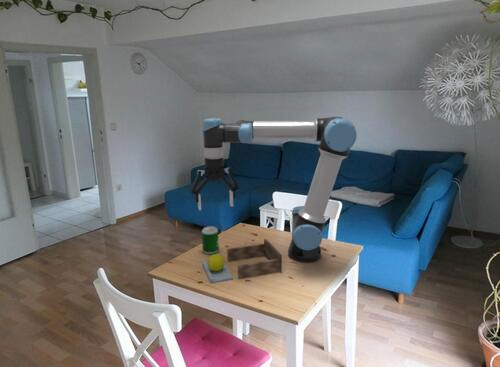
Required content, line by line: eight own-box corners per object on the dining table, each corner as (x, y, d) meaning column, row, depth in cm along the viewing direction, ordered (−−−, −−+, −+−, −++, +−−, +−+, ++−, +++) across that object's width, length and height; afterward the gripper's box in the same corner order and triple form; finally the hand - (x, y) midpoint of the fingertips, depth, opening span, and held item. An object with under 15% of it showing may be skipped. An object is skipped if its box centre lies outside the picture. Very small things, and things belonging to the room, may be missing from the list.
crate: (266, 255, 171) (266, 238, 169) (281, 272, 154) (281, 255, 152) (227, 261, 165) (226, 244, 163) (238, 280, 148) (238, 261, 146)
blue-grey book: (222, 256, 163) (202, 261, 161) (232, 274, 147) (210, 279, 145) (222, 261, 164) (202, 265, 161) (233, 279, 148) (211, 284, 145)
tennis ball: (210, 275, 150) (208, 260, 148) (207, 267, 157) (205, 252, 155) (226, 272, 152) (225, 256, 150) (223, 264, 159) (221, 249, 157)
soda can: (216, 256, 170) (215, 231, 167) (200, 255, 172) (199, 230, 169) (220, 249, 177) (219, 226, 175) (205, 248, 179) (204, 225, 176)
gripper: (240, 153, 156) (241, 201, 161) (181, 158, 149) (184, 208, 154) (246, 156, 149) (247, 206, 154) (184, 161, 142) (187, 213, 147)
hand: (215, 207), depth 154 cm, fingers open, 13 cm apart
